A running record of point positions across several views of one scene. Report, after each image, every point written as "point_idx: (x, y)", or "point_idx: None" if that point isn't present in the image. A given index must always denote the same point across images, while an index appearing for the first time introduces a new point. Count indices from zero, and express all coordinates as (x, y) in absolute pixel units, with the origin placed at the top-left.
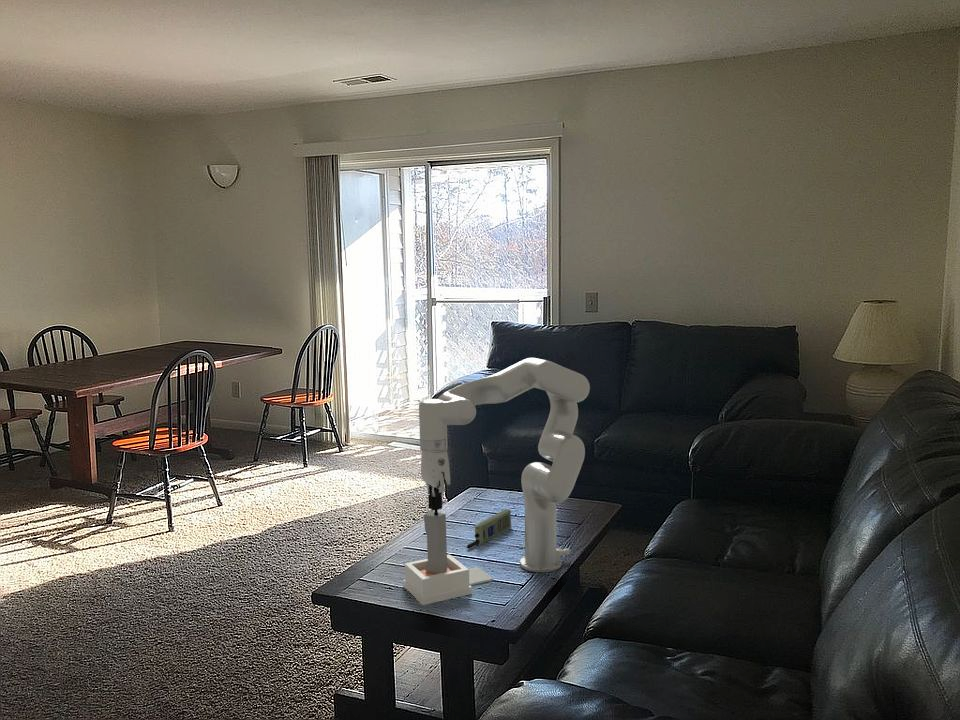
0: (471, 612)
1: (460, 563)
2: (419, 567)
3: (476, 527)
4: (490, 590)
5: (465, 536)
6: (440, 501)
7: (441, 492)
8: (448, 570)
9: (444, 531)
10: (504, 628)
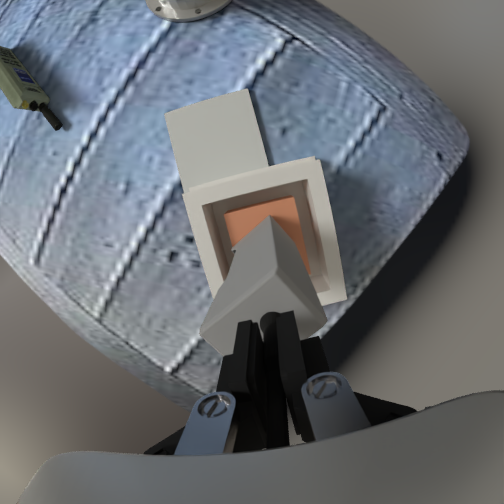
0: (399, 185)
1: (266, 173)
2: None
3: (19, 104)
4: (303, 110)
5: (10, 133)
6: (324, 354)
7: (393, 409)
8: (267, 210)
9: (283, 251)
10: (466, 149)
